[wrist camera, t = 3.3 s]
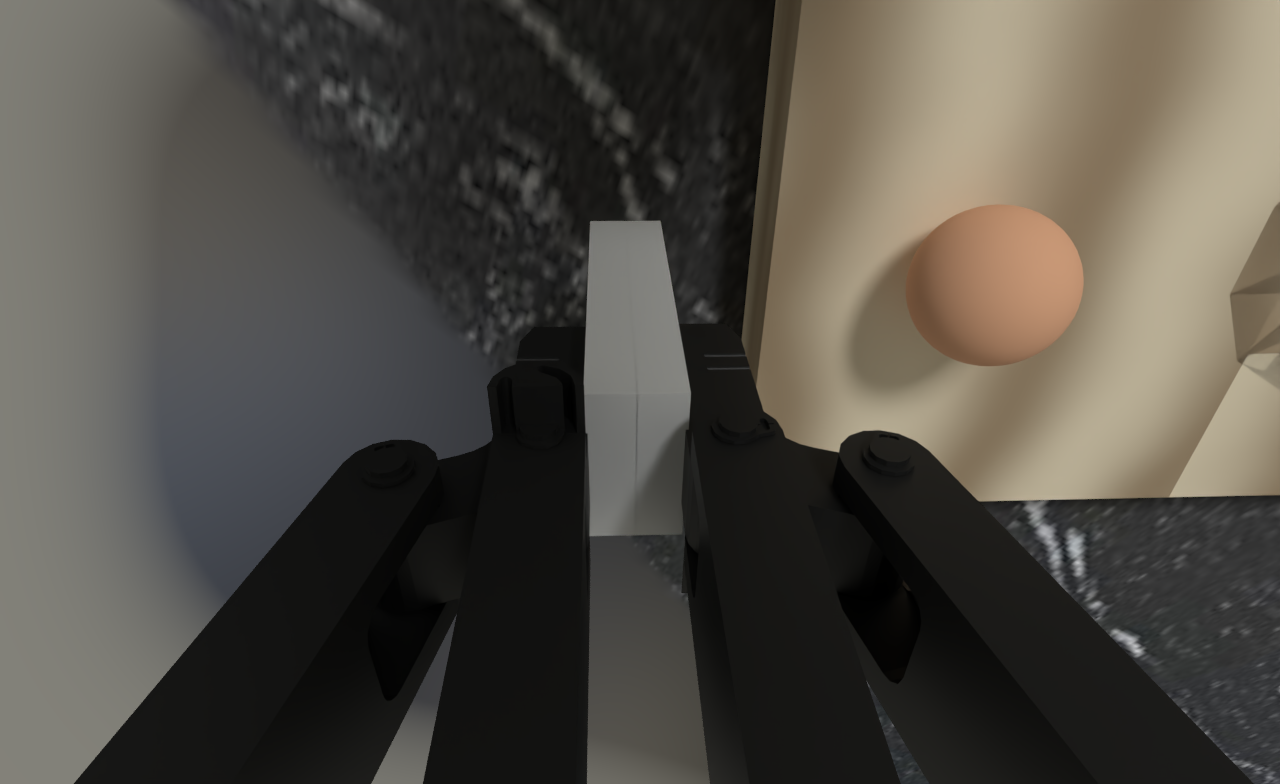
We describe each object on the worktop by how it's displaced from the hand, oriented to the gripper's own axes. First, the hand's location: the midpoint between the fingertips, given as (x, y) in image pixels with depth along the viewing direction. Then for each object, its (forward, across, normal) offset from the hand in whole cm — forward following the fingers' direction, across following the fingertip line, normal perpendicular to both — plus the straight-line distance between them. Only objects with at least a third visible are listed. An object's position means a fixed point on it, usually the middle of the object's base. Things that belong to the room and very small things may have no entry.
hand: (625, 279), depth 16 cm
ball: (0, +8, 0) cm, 8 cm away
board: (+4, +14, 0) cm, 15 cm away
